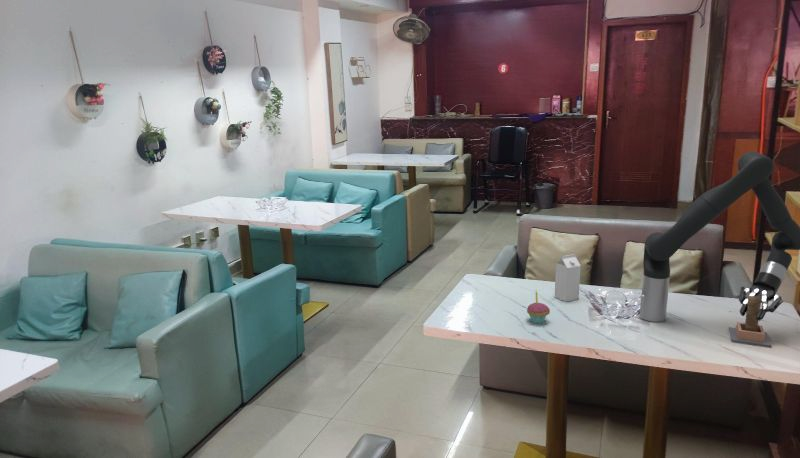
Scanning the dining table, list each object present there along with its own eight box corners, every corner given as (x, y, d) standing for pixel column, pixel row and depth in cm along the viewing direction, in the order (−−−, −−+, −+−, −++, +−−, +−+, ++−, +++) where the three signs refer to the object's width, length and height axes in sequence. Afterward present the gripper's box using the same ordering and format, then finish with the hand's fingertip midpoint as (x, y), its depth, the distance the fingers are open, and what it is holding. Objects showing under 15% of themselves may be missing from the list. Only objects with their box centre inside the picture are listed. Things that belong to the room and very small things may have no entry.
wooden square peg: (745, 330, 211) (749, 298, 208) (744, 327, 214) (748, 295, 211) (756, 332, 210) (761, 300, 207) (755, 328, 213) (760, 296, 210)
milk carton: (554, 297, 255) (556, 254, 250) (567, 294, 258) (569, 251, 253) (565, 302, 249) (567, 258, 244) (578, 299, 252) (581, 256, 247)
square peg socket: (731, 341, 210) (732, 331, 209) (728, 329, 220) (730, 319, 219) (771, 347, 205) (772, 337, 204) (766, 334, 215) (768, 324, 215)
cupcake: (522, 318, 233) (523, 289, 230) (540, 315, 236) (542, 286, 233) (534, 327, 225) (535, 297, 222) (553, 323, 228) (555, 293, 225)
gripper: (746, 266, 217) (726, 305, 213) (790, 276, 205) (769, 318, 202) (752, 277, 221) (731, 316, 217) (794, 288, 210) (774, 328, 206)
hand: (750, 316), depth 209 cm, fingers closed on wooden square peg, 4 cm apart
